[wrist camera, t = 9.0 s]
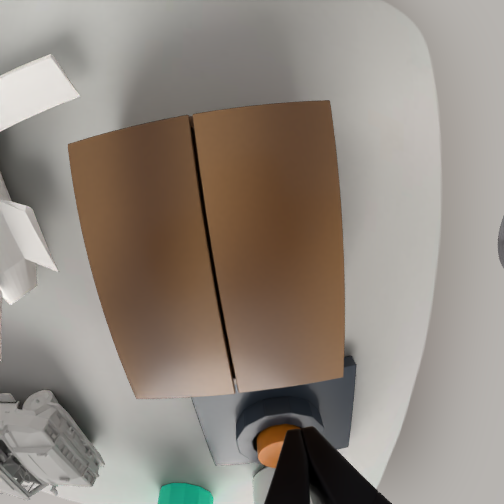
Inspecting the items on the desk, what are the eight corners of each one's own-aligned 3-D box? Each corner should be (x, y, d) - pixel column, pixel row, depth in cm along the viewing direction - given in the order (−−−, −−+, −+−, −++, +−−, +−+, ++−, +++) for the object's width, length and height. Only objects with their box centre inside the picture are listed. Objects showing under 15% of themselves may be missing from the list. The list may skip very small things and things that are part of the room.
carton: (300, 118, 17) (331, 98, 11) (318, 320, 21) (344, 377, 15) (116, 146, 17) (65, 143, 11) (158, 339, 21) (135, 399, 15)
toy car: (122, 453, 24) (98, 534, 15) (4, 442, 25) (-26, 493, 15) (68, 376, 22) (16, 461, 12) (-41, 381, 22) (-82, 428, 13)
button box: (351, 355, 22) (364, 379, 19) (345, 438, 25) (353, 461, 22) (189, 377, 22) (184, 404, 19) (215, 456, 25) (214, 481, 22)
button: (303, 419, 20) (308, 437, 19) (304, 448, 21) (308, 464, 20) (253, 426, 20) (254, 444, 19) (259, 454, 21) (260, 471, 20)
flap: (327, 101, 12) (330, 99, 11) (341, 372, 15) (343, 377, 15) (193, 115, 12) (192, 113, 11) (238, 388, 15) (238, 393, 15)
